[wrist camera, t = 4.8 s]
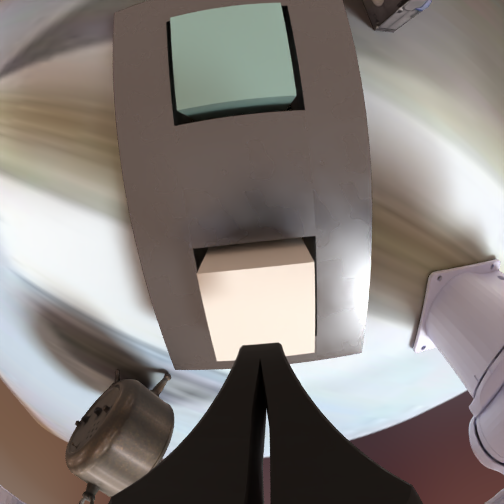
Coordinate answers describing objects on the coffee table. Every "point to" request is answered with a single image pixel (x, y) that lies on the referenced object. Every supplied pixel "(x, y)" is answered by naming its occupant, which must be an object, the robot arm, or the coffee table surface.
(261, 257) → the white key
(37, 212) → the coffee table surface
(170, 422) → the alarm clock
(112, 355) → the coffee table surface
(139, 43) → the key housing
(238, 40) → the teal key
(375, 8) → the mini dv tape
